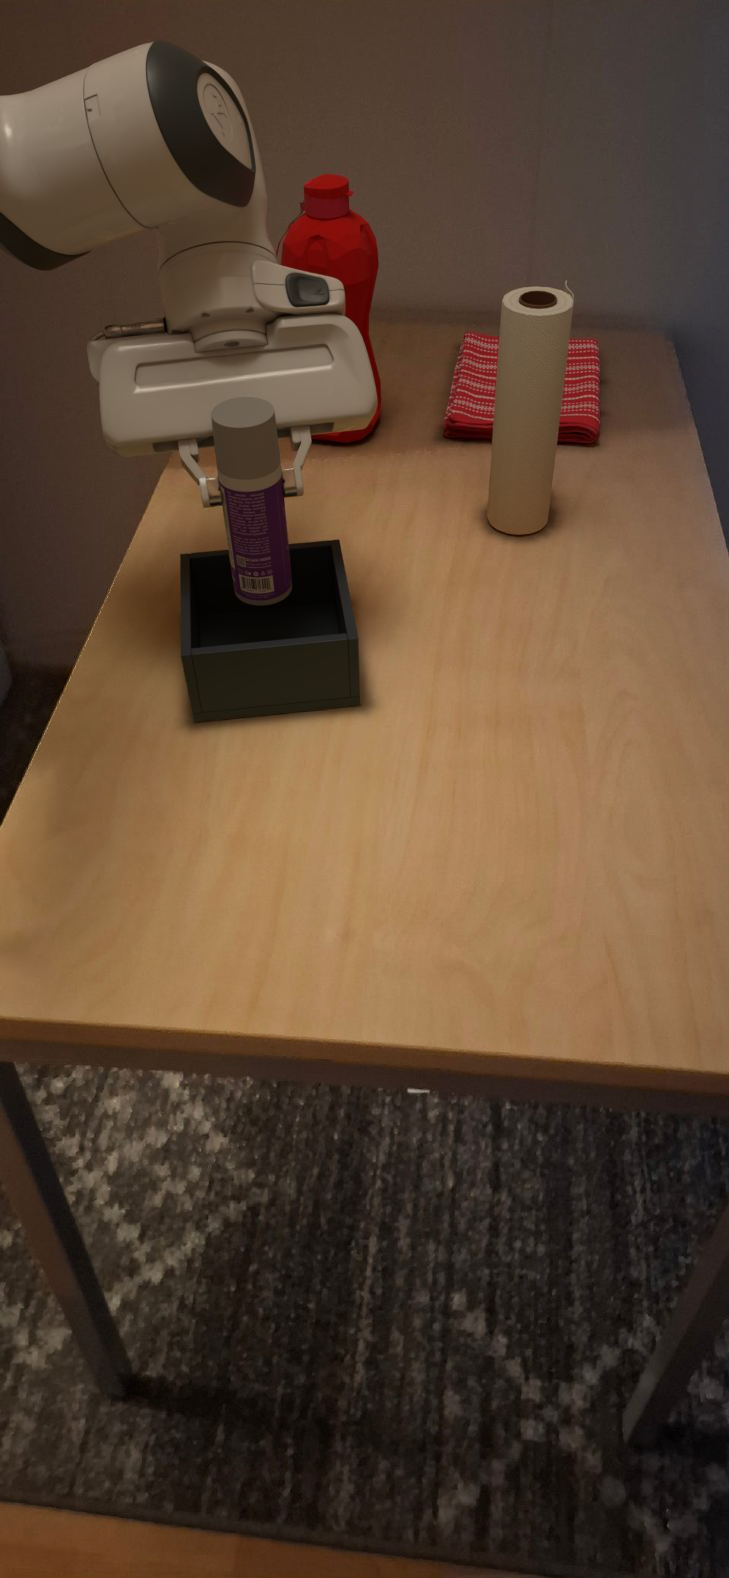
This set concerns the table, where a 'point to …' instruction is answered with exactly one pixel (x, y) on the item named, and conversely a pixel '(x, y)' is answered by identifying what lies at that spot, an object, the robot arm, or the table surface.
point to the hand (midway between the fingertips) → (254, 500)
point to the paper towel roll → (528, 406)
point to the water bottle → (337, 261)
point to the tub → (268, 638)
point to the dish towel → (478, 387)
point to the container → (252, 499)
